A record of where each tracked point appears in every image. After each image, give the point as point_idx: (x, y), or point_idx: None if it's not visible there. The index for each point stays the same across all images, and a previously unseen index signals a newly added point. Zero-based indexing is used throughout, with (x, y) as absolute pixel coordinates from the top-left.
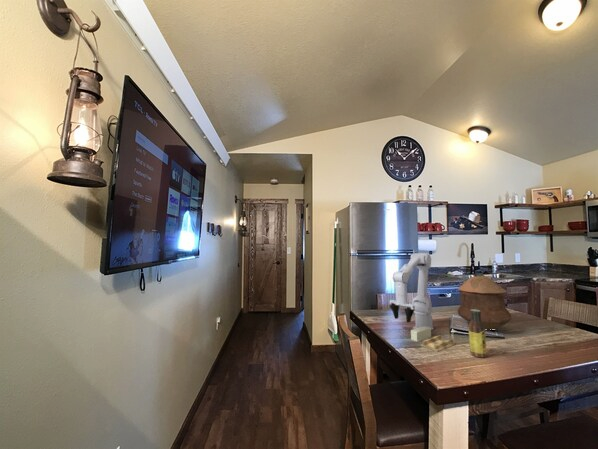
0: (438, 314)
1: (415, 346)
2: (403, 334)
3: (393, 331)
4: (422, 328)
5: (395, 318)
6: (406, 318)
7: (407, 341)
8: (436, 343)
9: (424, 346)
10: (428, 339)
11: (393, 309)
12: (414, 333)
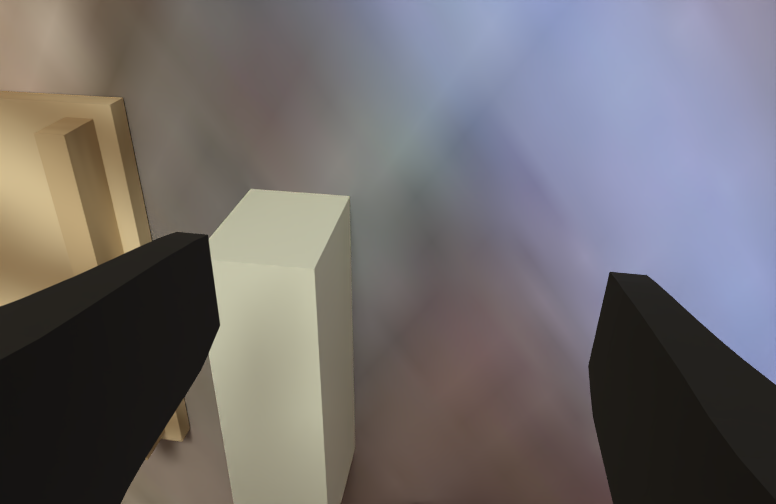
0: None
1: (131, 3)
2: (544, 282)
3: (736, 279)
4: (274, 452)
5: (621, 275)
6: (140, 273)
7: (328, 81)
8: (55, 279)
9: (64, 97)
10: (80, 251)
11: (765, 466)
12: (254, 244)
